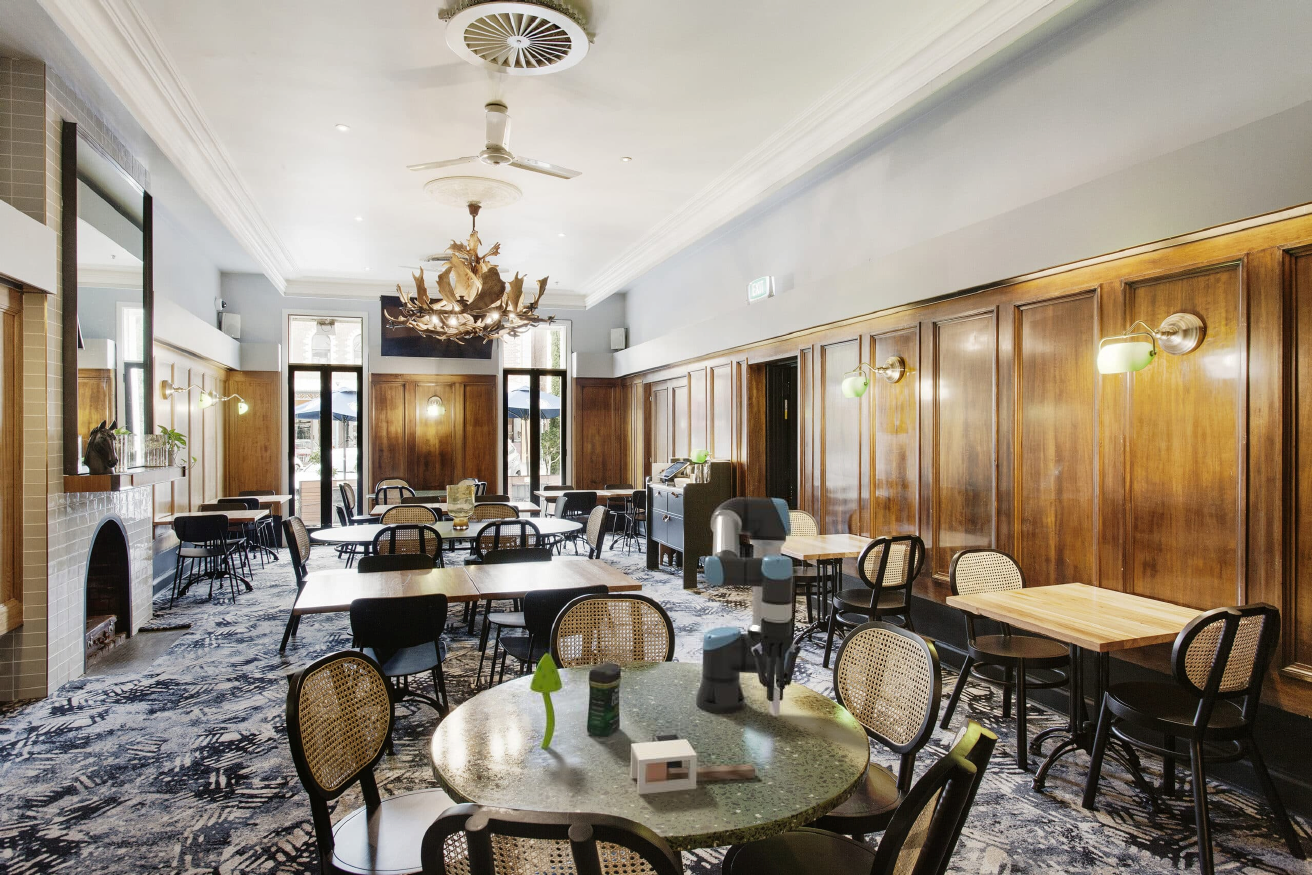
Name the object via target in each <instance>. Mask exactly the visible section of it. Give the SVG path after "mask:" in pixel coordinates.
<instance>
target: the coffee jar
mask: <svg viewBox="0 0 1312 875" xmlns="http://www.w3.org/2000/svg"><path fill="white" fill-rule="evenodd" d="M621 671H622V668H621V667H620V666H619V664H618V663H613V662H608V661H607V662H605V663H602V664H600V665H597V666H595V667H593V668H592V669H589V672H588V687H589V690H588V691H589V694H588V696H589V697H588V707H587V708H588V711H587V721H586V731H587V733H588V734H589V735H591V736H593V737H597V738H600V737H603V738H604V737H605V738H607V737H610V736H612V735H613V734H615V733H616V732H617V731H618V730H620V726H621V724H620V723H621V722H620V721H621V719H620V687H621V686H620V685H621V681H622V674H621V673H622V672H621Z"/></svg>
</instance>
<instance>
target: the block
mask: <svg viewBox="0 0 1312 875" xmlns="http://www.w3.org/2000/svg"><path fill="white" fill-rule="evenodd" d="M666 770H667V762H659V763H648V764H646V770H645V783H647V782H657V781H666Z"/></svg>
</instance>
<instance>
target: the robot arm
mask: <svg viewBox="0 0 1312 875" xmlns="http://www.w3.org/2000/svg"><path fill="white" fill-rule="evenodd" d="M791 524H792V523H791V514H790V510H789V506H788V502H787V501H786V500H785V499H784V498H783V499H782V498H776V497H743V496H741V497H738V496H737V497H733V498H730V499H728V500H726V501H723V503H721V504H720V505H719V506H717V508H715V509H714V512H713V513H712V515H711V518H710V529H711V531H712V533H713V534H712V535H713V538H712V539H713V540H712V555H711V556H709V555H708V556H706V557H705V559H704V582H705V583H706V584H707V585H711V586H712V585H713V586H718V587H720V586H727V587H728V586H732V587H733V586H734V587H752V623H751V624H750V625H749V626H748V627H747V633H742V631H741V629H740V628H737V627H732V626H722V627H716V628H713V629H709V630H708V631H706V632H705V633H704V635H703V639H702V647H701V648H702V678H701V681H700V684H699V687H698V690H697V692H696V698H695V700H696V701H695V703H696V706H697V708H700V709H701V710H702V711H703V710H704V711H707V712H710V713H714V714H733V713H737V712H739V711H742V710H744V708H745V706H746V705H745V702H746V699H745V694H744V691H743V688H742V685H741V681H740V680H741V679H740V676H741V675H740V673H741V674H742V673H744V674H757V675H758V676H757V677H758V680H759V684H760V685H762V686H763V687H765V688H766V700H768V702H769V713H770V714H771V715H772V716H775V717H777V716H780V711H781V710H780V708H781V706H780V705H781V704H780V703H781V701H783V700H784V690H785V689H786V687H787V686H790V685H791V684H792V679H793V674H794V672H795V666H796V662H797V658H798V656H799V654H800V652H801V650H802V648H801V646H799V645H797V644H795V643H794V641H793V639H792V625H793V624H792V621H791V619H792V616H793V615H792V614H793V613H792V612H793V598H792V596H793V574H794V569H793V560H792V558H791V557H788V556H786V555H782V547H783V545H784V544H785V543H786V542H787V537H790V536H791V535H792V525H791ZM740 535H748V541H749V542H750V543H751V544H752V545H753V557H746V556H743V557H741V554H740Z"/></svg>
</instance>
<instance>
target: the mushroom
mask: <svg viewBox="0 0 1312 875" xmlns="http://www.w3.org/2000/svg"><path fill="white" fill-rule="evenodd" d="M555 663H556V662H555V661H554V660H553V657H552V656H551V655H550V654H549V653H547V652H546V653H545V654H544V655H543V656H542V657H541V659H540V661H539V662H538V664H537V667H536V668H535V671H534V673H533V677H532V680H531V682H530V685H529V689H530V690H531V691H532V692H535V693H541V695H542V698H543V702H544V708H545V715H546V716H545V717H546V722H545V723H546V725H545V731H544V736H543V739H542V740H543V741H542V744H541V749H545V750H546V749H548V748H549V746H550V744H551V741H552V738H553V735H554V734H555V733H554V732H555V729H556V728H555V727H556V726H555V725H556V717H555V710H554V705H553V701H552V697H551V694H550V693H554V692H557V691H560V690H561V689H563V684H562V681H561V680H562V679H561V676H560V672H559V671H558V667H557V665H556V664H555Z"/></svg>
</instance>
